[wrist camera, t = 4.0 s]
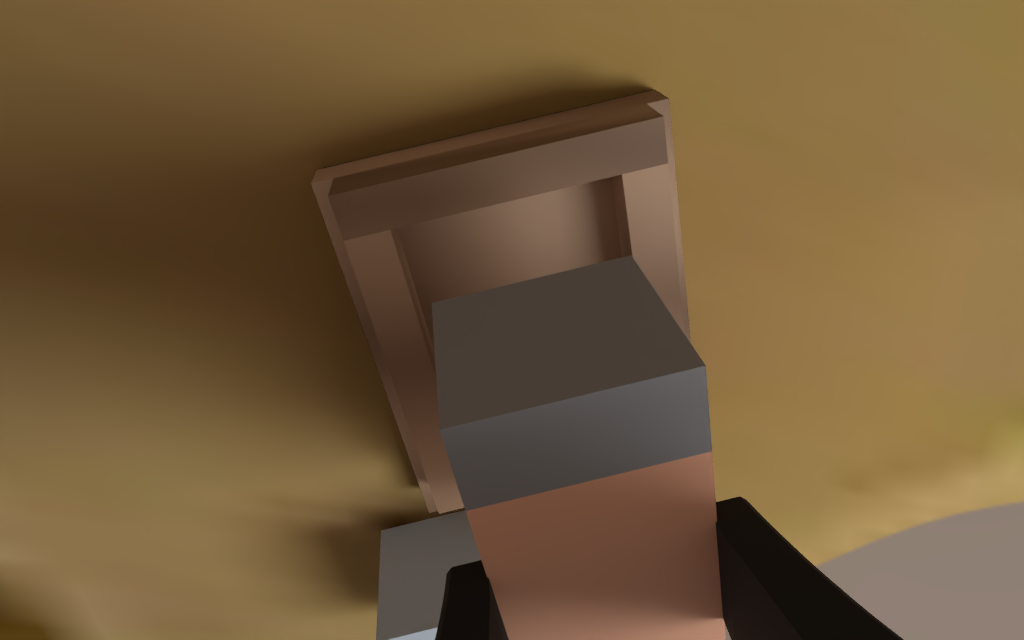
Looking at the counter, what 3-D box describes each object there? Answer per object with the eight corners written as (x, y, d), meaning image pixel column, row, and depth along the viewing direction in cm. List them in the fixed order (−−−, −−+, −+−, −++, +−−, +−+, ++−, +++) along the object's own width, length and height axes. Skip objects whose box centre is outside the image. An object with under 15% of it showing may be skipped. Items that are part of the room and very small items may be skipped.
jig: (688, 425, 21) (715, 474, 19) (428, 489, 21) (429, 544, 19) (654, 89, 16) (687, 110, 14) (316, 170, 16) (303, 202, 14)
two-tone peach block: (670, 561, 16) (731, 711, 13) (519, 599, 16) (545, 757, 13) (631, 255, 12) (704, 365, 9) (431, 302, 12) (439, 430, 9)
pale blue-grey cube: (517, 579, 24) (536, 690, 20) (412, 604, 24) (413, 721, 20) (494, 500, 22) (511, 608, 18) (381, 528, 22) (376, 642, 18)
